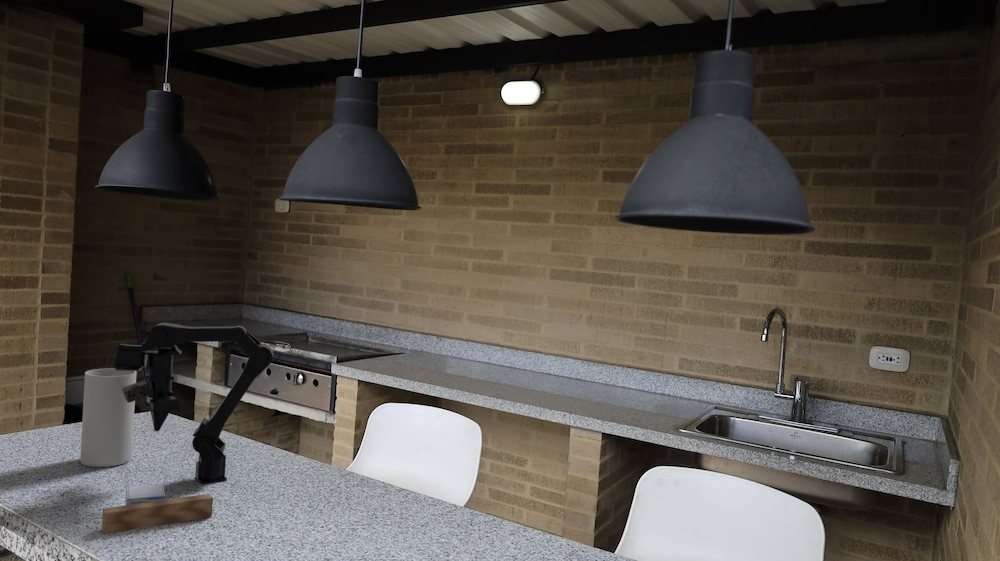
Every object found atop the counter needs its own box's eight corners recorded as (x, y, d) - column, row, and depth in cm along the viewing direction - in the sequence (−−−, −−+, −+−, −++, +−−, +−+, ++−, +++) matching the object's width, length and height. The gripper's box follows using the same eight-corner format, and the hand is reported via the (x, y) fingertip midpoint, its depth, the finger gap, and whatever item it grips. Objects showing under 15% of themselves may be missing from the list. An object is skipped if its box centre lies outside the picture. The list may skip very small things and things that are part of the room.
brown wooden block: (208, 512, 165) (209, 493, 164) (211, 516, 162) (213, 497, 162) (101, 529, 151) (102, 508, 151) (103, 534, 149) (105, 513, 149)
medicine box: (125, 504, 165) (125, 518, 158) (126, 486, 165) (126, 498, 158) (162, 501, 169) (164, 514, 162) (163, 483, 169) (165, 495, 161)
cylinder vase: (134, 465, 193) (139, 375, 193) (81, 470, 186) (87, 377, 186) (128, 452, 204) (133, 367, 203) (78, 457, 197) (83, 369, 196)
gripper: (119, 366, 185) (115, 424, 185) (132, 379, 170) (129, 443, 171) (164, 365, 192) (161, 421, 192) (181, 377, 177) (178, 438, 177)
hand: (156, 430), depth 183 cm, fingers closed
